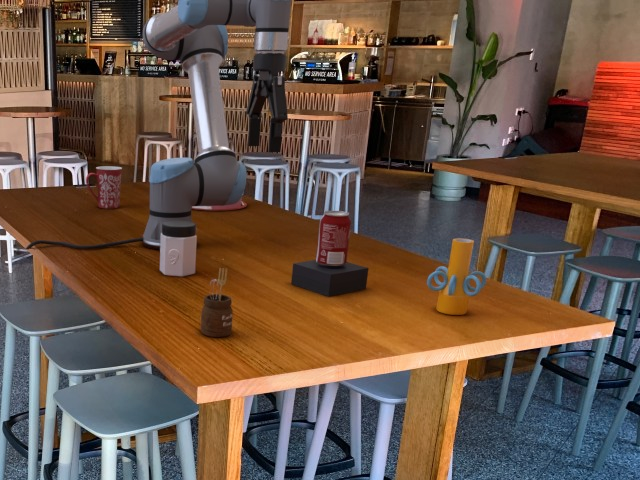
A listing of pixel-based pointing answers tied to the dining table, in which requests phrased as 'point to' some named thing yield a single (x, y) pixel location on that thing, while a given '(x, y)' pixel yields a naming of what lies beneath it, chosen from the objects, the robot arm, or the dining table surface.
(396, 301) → the dining table surface
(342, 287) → the pad bottom
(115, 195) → the mug
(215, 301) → the utensil holder
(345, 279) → the pad top
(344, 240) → the soda can
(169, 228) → the jar
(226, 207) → the cake
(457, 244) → the cylinder
